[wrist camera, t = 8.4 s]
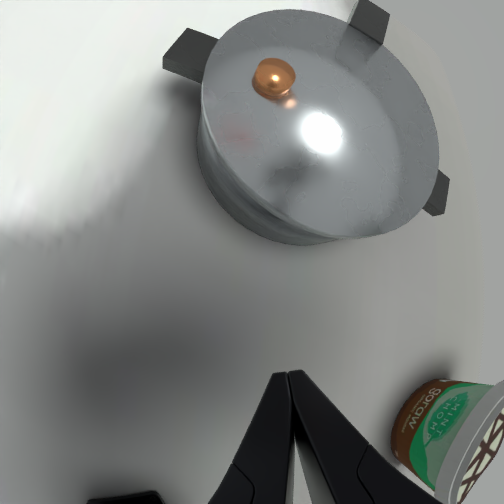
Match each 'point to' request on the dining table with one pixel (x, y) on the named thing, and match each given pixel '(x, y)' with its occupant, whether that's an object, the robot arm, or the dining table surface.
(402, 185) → the cooker lid
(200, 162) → the cooker pot
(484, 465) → the food container
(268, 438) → the robot arm
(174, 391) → the dining table surface
